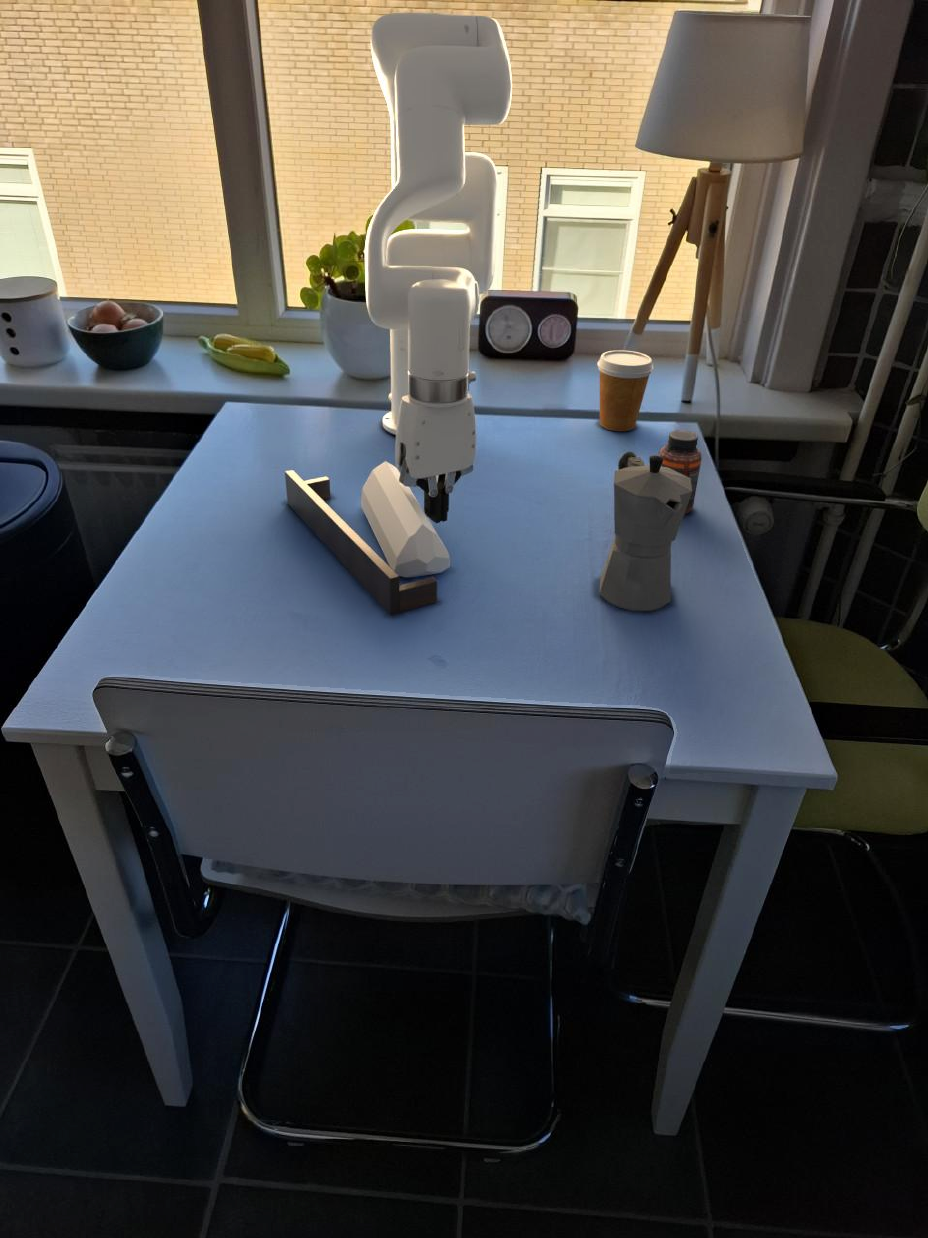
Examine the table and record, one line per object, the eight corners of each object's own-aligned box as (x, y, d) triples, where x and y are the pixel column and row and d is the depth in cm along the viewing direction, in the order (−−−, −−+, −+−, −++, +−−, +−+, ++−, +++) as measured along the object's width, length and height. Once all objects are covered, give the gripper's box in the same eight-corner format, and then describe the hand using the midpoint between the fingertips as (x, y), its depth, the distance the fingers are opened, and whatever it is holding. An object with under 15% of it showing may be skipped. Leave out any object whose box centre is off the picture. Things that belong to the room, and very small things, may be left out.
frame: (287, 503, 126) (284, 471, 123) (327, 495, 128) (325, 463, 126) (390, 615, 102) (390, 578, 99) (437, 602, 105) (437, 566, 102)
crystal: (470, 550, 108) (419, 472, 127) (422, 530, 104) (377, 452, 123) (440, 598, 110) (395, 514, 129) (392, 580, 107) (353, 496, 126)
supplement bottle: (694, 503, 130) (708, 430, 124) (689, 520, 125) (703, 445, 119) (654, 496, 131) (666, 424, 125) (648, 512, 127) (659, 438, 121)
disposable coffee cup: (592, 413, 160) (600, 347, 154) (645, 418, 159) (655, 352, 152) (588, 431, 153) (596, 363, 146) (643, 437, 151) (653, 368, 145)
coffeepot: (692, 617, 104) (722, 477, 94) (618, 625, 102) (640, 483, 92) (642, 554, 116) (663, 425, 106) (574, 560, 114) (590, 429, 104)
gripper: (473, 369, 115) (468, 496, 125) (370, 386, 109) (374, 519, 119) (504, 386, 110) (497, 517, 120) (399, 404, 103) (400, 542, 113)
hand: (436, 518), depth 119 cm, fingers closed
